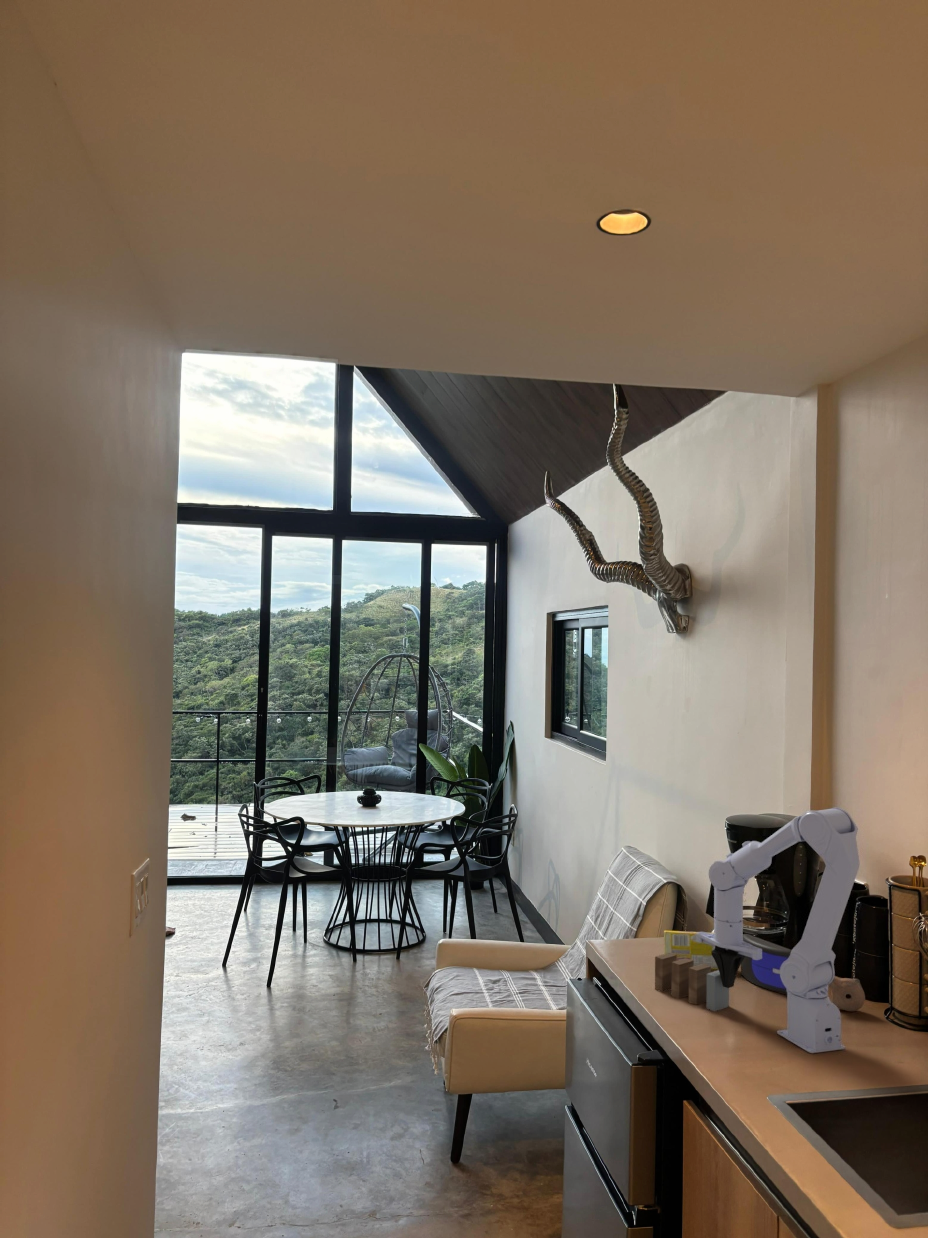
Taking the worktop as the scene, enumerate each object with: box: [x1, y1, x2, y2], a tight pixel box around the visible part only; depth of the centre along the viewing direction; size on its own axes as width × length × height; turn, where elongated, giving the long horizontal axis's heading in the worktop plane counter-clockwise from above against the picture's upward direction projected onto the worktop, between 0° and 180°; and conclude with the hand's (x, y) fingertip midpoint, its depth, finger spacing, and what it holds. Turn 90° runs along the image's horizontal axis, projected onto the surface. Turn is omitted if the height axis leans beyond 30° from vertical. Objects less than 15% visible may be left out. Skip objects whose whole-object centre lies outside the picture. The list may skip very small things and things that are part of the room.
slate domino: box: [706, 970, 730, 1012], centre depth 177 cm, size 2×5×7 cm, turn 129°
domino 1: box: [654, 953, 677, 993], centre depth 188 cm, size 2×5×7 cm, turn 128°
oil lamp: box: [828, 975, 866, 1012], centre depth 177 cm, size 9×4×8 cm, turn 80°
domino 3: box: [688, 964, 712, 1006], centre depth 180 cm, size 2×5×7 cm, turn 128°
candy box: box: [663, 930, 718, 971], centre depth 202 cm, size 16×2×8 cm, turn 84°
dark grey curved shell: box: [740, 933, 792, 995], centre depth 191 cm, size 16×5×9 cm, turn 27°
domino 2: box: [670, 958, 694, 999], centre depth 184 cm, size 2×5×7 cm, turn 128°
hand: (728, 986), depth 175 cm, fingers closed
